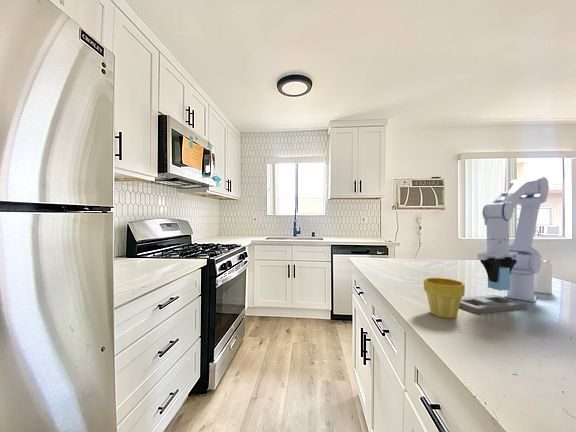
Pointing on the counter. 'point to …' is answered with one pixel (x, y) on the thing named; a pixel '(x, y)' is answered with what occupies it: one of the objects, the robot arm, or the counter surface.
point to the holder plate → (490, 304)
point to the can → (543, 278)
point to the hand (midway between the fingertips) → (498, 281)
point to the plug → (501, 280)
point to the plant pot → (444, 296)
